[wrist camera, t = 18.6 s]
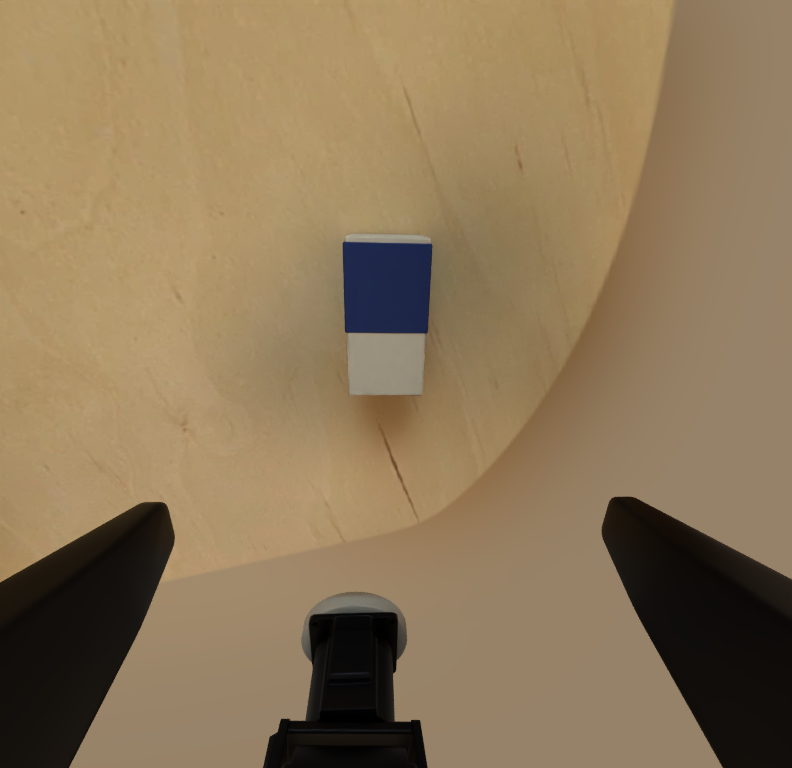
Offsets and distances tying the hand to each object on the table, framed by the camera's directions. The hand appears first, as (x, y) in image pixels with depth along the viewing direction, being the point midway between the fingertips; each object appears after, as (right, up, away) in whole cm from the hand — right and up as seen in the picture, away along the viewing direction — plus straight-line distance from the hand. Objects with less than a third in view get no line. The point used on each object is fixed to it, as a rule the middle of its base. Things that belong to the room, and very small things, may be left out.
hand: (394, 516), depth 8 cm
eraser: (-1, +6, +10) cm, 12 cm away
